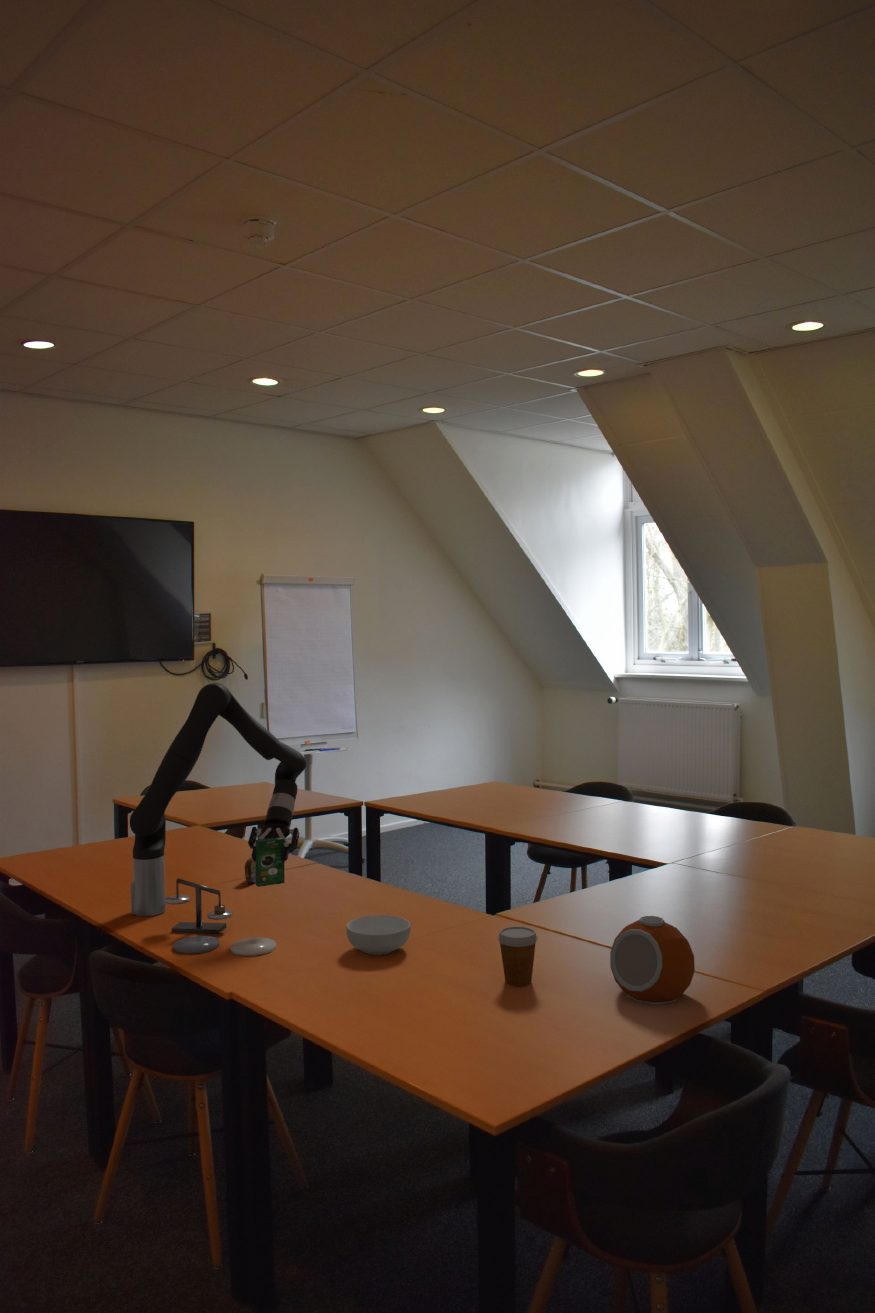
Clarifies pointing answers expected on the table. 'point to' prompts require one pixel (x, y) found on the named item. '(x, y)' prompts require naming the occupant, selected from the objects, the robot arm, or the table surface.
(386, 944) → the cereal bowl
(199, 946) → the grey dish
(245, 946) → the white dish
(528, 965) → the disposable coffee cup
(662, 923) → the alarm clock
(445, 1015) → the table surface
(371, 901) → the table surface
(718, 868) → the table surface
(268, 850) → the coffee box
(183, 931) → the balance
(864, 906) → the table surface
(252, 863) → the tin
